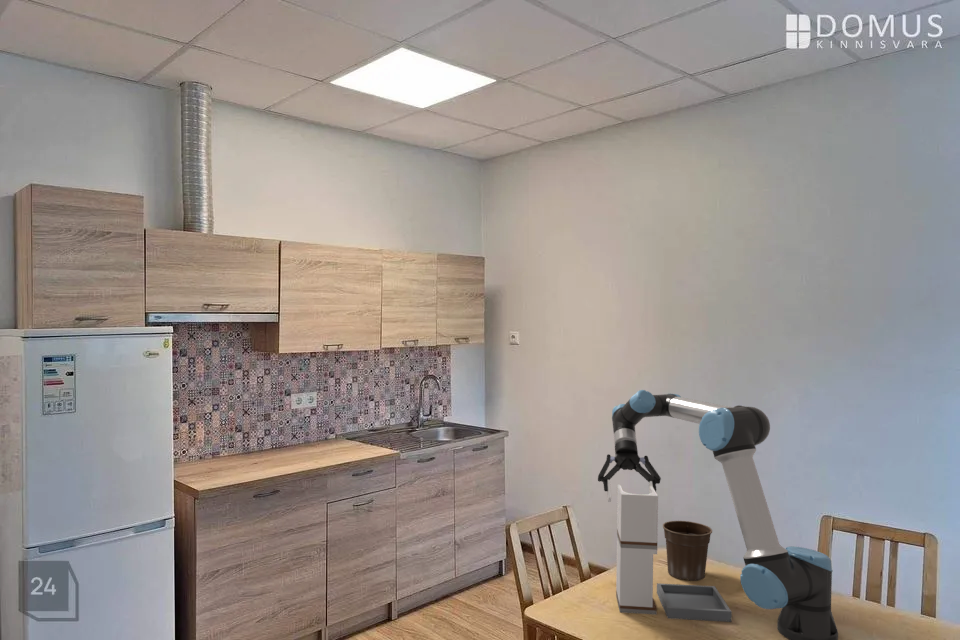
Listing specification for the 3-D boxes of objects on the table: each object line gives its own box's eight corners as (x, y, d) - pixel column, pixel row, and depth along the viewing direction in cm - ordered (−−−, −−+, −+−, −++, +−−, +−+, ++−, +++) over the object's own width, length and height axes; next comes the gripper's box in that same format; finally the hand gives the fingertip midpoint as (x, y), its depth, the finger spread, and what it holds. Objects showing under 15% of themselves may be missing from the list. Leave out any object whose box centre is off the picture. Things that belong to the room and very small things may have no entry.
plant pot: (681, 562, 234) (682, 517, 234) (721, 576, 221) (722, 529, 221) (652, 571, 225) (652, 525, 225) (691, 587, 212) (692, 538, 212)
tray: (714, 595, 206) (714, 586, 206) (731, 621, 188) (731, 611, 188) (656, 592, 207) (656, 583, 207) (667, 618, 189) (667, 608, 189)
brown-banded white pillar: (656, 614, 192) (658, 495, 192) (619, 612, 193) (621, 494, 193) (650, 598, 203) (652, 486, 203) (616, 596, 204) (617, 484, 204)
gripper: (661, 452, 226) (669, 507, 211) (588, 450, 228) (591, 504, 213) (664, 439, 221) (672, 495, 206) (589, 437, 223) (592, 492, 208)
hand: (631, 500), depth 209 cm, fingers open, 13 cm apart
